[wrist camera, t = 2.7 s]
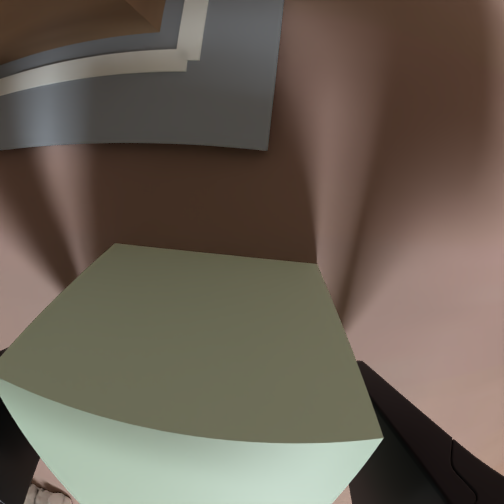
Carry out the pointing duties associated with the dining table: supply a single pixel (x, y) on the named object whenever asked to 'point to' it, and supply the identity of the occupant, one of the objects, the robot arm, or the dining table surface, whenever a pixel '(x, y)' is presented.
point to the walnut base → (71, 23)
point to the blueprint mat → (153, 82)
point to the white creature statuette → (45, 497)
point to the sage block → (192, 383)
